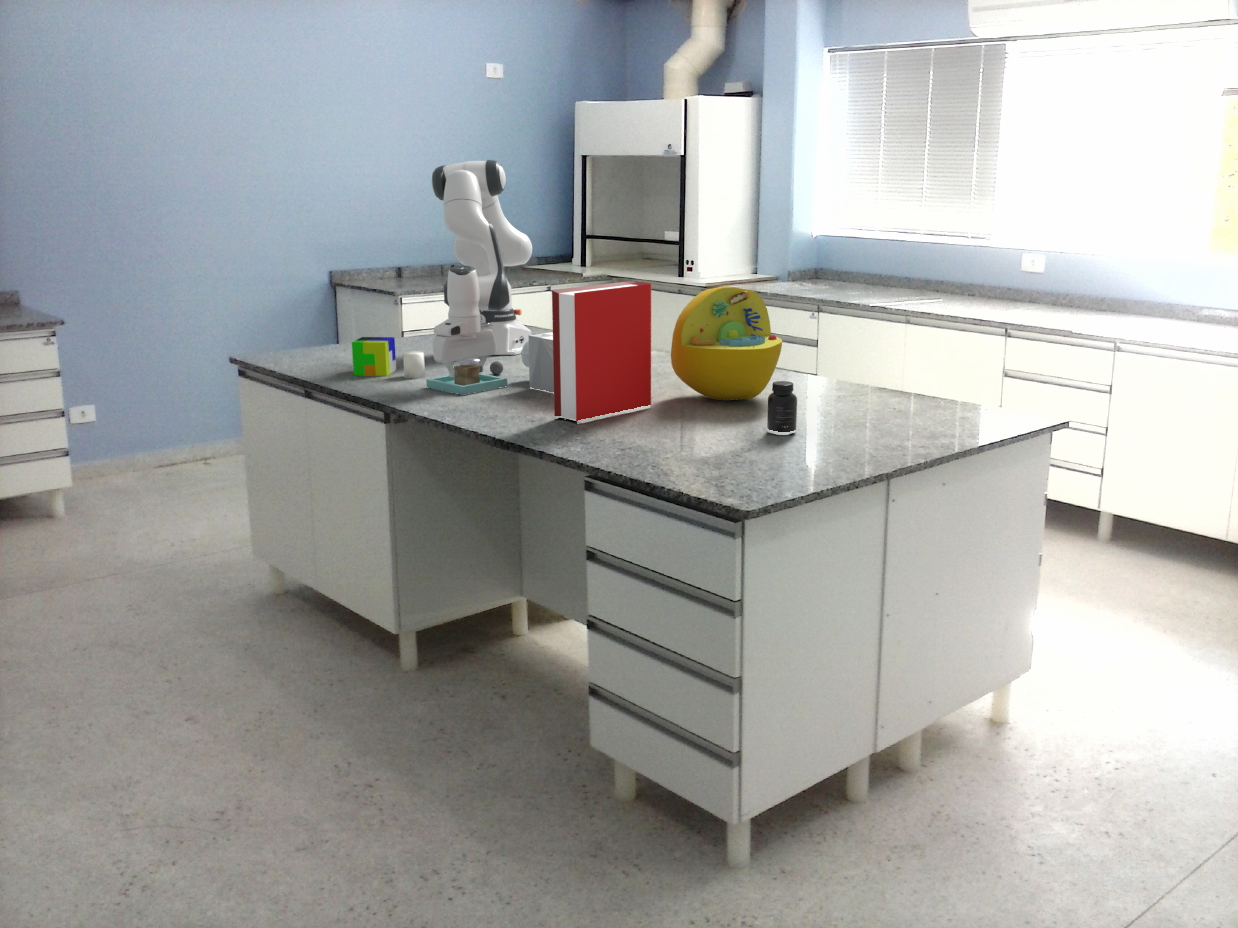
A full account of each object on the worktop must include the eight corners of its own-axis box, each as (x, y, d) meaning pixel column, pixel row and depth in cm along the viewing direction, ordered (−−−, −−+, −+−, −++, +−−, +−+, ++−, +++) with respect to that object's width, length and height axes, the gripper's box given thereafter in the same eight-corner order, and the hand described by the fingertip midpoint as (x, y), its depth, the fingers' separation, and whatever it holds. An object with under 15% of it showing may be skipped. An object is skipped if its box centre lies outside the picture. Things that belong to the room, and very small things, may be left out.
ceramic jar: (416, 374, 350) (415, 350, 348) (429, 376, 346) (428, 353, 344) (400, 376, 346) (398, 353, 344) (412, 379, 342) (411, 355, 340)
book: (576, 425, 285) (574, 293, 277) (554, 419, 291) (551, 290, 282) (654, 407, 303) (654, 283, 295) (632, 403, 309) (632, 281, 300)
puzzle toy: (396, 370, 357) (394, 337, 354) (386, 376, 347) (384, 342, 344) (364, 369, 358) (362, 337, 355) (353, 375, 348) (351, 342, 345)
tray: (470, 379, 341) (470, 371, 340) (507, 386, 330) (507, 378, 330) (426, 387, 330) (426, 379, 329) (463, 395, 319) (462, 387, 318)
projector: (639, 392, 322) (639, 338, 318) (587, 402, 310) (586, 346, 306) (558, 375, 347) (557, 324, 343) (507, 383, 335) (505, 331, 331)
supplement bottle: (764, 429, 279) (765, 380, 276) (792, 429, 280) (794, 379, 277) (770, 436, 273) (771, 386, 270) (799, 435, 273) (800, 385, 270)
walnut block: (468, 381, 333) (467, 364, 332) (479, 383, 330) (479, 366, 328) (454, 384, 330) (453, 366, 328) (465, 386, 326) (465, 368, 325)
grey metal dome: (473, 365, 363) (472, 356, 363) (487, 368, 359) (487, 358, 358) (455, 368, 358) (454, 359, 358) (469, 371, 354) (469, 361, 353)
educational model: (716, 417, 292) (718, 296, 284) (649, 396, 316) (649, 284, 308) (806, 403, 307) (810, 288, 299) (736, 384, 331) (738, 277, 323)
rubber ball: (497, 372, 351) (497, 359, 350) (506, 374, 348) (505, 361, 347) (487, 374, 348) (486, 361, 347) (496, 376, 345) (495, 363, 344)
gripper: (485, 320, 335) (487, 368, 338) (428, 328, 320) (431, 378, 324) (500, 322, 331) (502, 370, 334) (443, 331, 316) (445, 381, 320)
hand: (466, 374), depth 329 cm, fingers open, 8 cm apart
